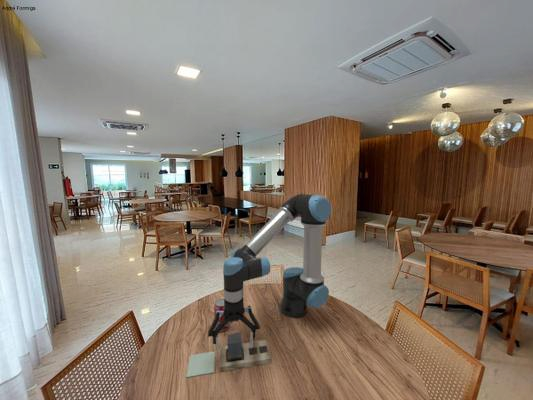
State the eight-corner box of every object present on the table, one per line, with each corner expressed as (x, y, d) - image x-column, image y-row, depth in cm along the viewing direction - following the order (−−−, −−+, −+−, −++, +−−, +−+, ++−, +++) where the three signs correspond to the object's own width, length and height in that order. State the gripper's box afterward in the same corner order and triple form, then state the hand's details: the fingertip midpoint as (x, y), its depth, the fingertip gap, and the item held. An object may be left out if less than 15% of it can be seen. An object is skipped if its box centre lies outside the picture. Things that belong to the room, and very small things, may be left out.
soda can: (226, 333, 102) (225, 307, 101) (212, 331, 104) (211, 305, 102) (231, 323, 109) (231, 299, 108) (218, 321, 110) (217, 297, 109)
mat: (215, 352, 91) (214, 351, 91) (214, 373, 81) (214, 372, 81) (190, 356, 89) (190, 355, 89) (186, 378, 79) (186, 377, 79)
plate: (266, 344, 95) (266, 339, 95) (271, 362, 86) (271, 358, 85) (219, 351, 91) (219, 346, 91) (219, 372, 82) (219, 367, 81)
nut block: (241, 352, 91) (240, 332, 90) (242, 363, 86) (241, 342, 85) (227, 354, 90) (227, 334, 89) (228, 365, 85) (227, 344, 84)
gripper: (263, 289, 91) (263, 336, 93) (201, 296, 86) (203, 345, 88) (266, 299, 84) (266, 349, 86) (199, 307, 79) (201, 360, 81)
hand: (234, 347), depth 87 cm, fingers open, 13 cm apart
